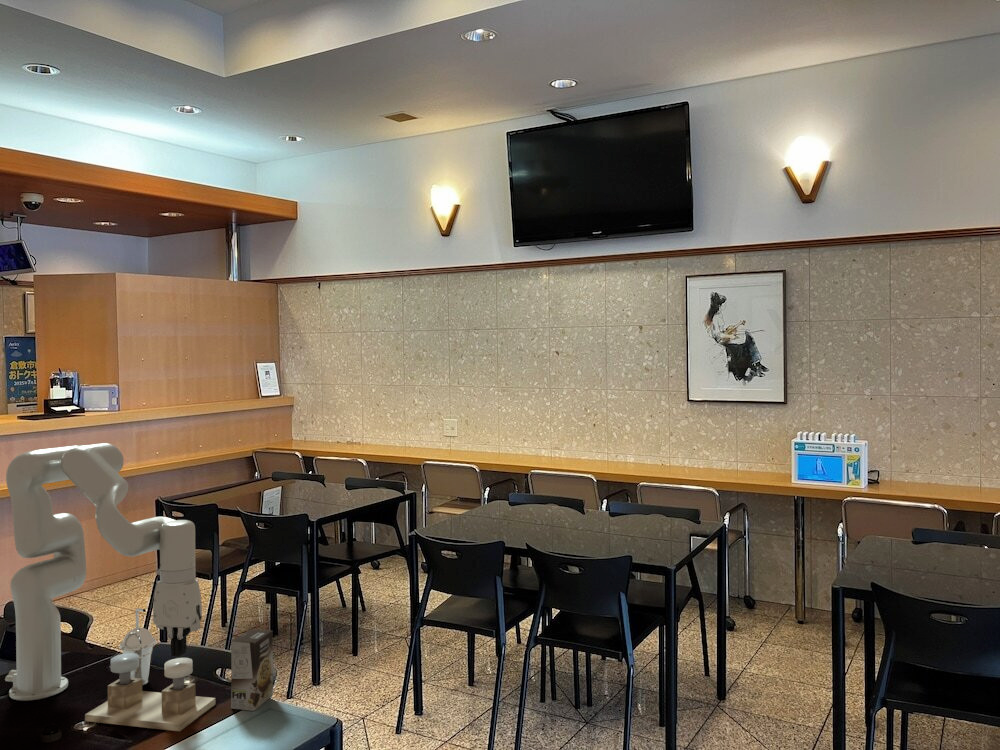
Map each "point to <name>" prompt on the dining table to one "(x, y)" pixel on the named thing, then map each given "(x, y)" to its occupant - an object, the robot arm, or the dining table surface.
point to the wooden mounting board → (150, 706)
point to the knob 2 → (178, 671)
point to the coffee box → (251, 669)
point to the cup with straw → (139, 648)
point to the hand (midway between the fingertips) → (178, 654)
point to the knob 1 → (124, 666)
